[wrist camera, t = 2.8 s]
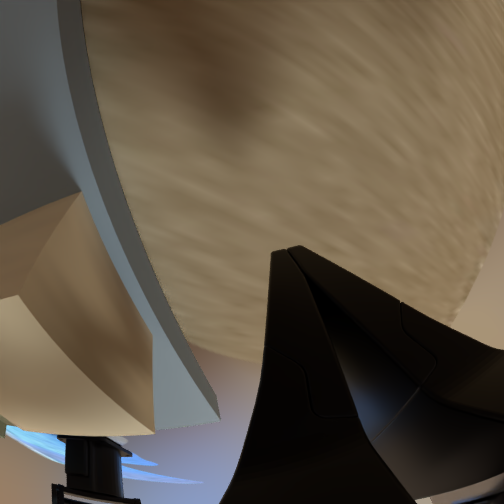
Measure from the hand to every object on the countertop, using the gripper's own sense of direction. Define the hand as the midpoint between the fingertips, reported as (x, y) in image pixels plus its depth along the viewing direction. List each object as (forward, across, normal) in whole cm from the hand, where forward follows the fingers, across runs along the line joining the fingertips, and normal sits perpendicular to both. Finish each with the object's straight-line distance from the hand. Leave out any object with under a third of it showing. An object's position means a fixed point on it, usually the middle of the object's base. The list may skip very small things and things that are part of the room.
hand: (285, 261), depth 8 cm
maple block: (+1, +8, 0) cm, 8 cm away
